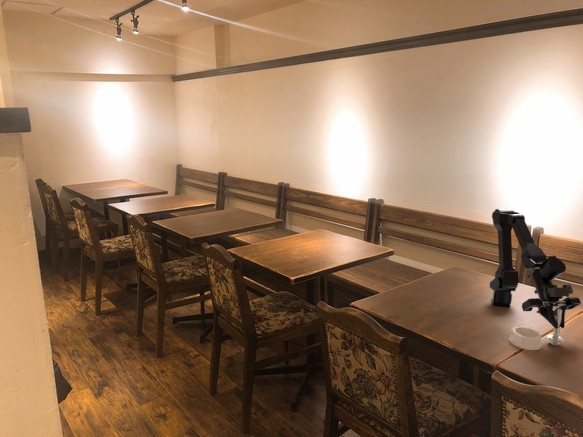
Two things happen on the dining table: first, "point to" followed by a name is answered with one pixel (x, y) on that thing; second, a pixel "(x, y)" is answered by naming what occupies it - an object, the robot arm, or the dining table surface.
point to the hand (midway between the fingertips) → (560, 328)
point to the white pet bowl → (526, 338)
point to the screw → (556, 330)
